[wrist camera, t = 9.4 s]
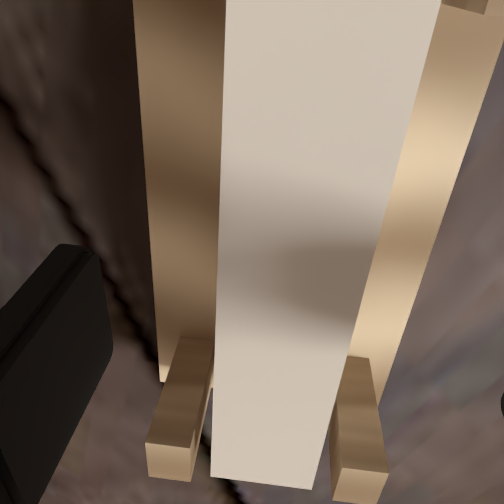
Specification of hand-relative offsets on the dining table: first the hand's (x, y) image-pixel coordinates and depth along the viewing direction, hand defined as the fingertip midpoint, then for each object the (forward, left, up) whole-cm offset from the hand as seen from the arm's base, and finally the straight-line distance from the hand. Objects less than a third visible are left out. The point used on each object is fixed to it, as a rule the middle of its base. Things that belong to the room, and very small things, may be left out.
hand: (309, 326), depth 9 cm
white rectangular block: (+1, 0, -6) cm, 6 cm away
